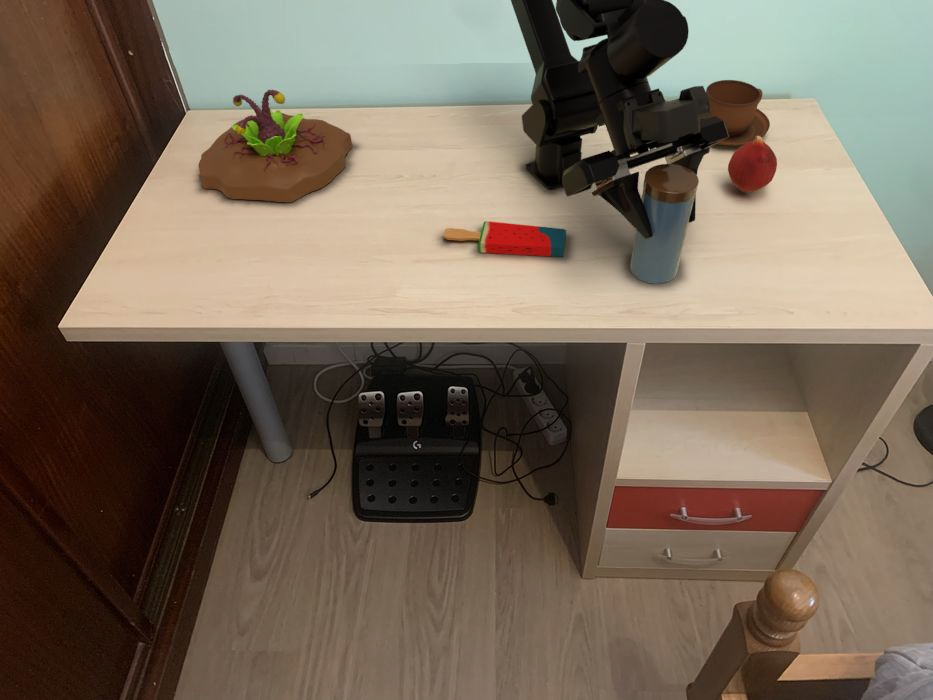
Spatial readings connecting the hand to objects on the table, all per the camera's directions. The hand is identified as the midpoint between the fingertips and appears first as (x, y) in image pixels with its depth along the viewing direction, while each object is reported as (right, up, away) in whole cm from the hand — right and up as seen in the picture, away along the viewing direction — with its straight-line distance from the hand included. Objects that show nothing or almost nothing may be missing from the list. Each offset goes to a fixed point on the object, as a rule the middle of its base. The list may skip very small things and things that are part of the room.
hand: (670, 229), depth 81 cm
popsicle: (-18, 0, +10) cm, 21 cm away
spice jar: (0, -4, +6) cm, 7 cm away
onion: (+14, +8, +16) cm, 23 cm away
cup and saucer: (+15, +19, +27) cm, 36 cm away
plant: (-50, +13, +24) cm, 57 cm away
